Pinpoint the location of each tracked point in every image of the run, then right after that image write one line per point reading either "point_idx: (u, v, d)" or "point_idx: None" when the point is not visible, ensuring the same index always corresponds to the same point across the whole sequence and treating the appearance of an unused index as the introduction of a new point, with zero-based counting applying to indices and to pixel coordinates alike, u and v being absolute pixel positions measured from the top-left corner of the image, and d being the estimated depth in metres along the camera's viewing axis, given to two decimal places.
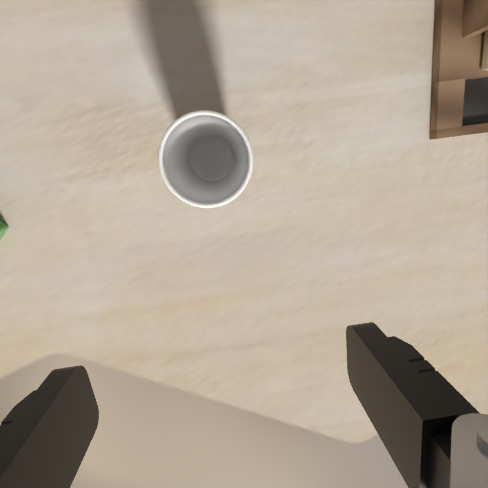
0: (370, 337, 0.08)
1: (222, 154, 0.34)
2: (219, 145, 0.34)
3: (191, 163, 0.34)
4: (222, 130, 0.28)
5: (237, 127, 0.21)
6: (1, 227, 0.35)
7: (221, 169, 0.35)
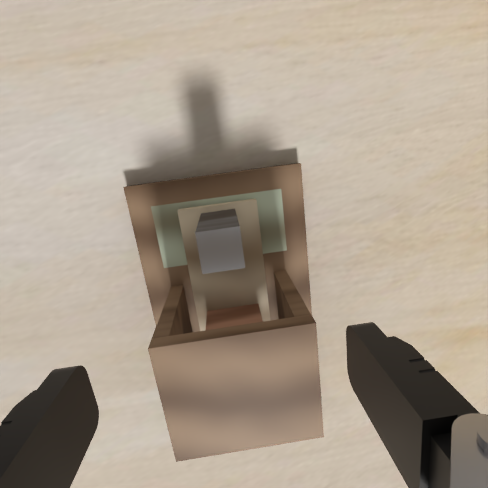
0: (370, 337, 0.08)
1: None
2: None
3: None
4: None
5: None
6: None
7: None
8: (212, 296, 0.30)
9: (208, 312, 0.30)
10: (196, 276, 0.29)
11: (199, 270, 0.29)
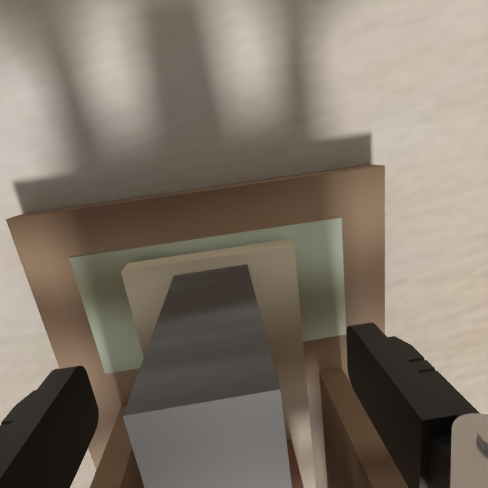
0: (370, 337, 0.08)
1: None
2: None
3: None
4: None
5: None
6: None
7: None
8: None
9: None
10: None
11: None
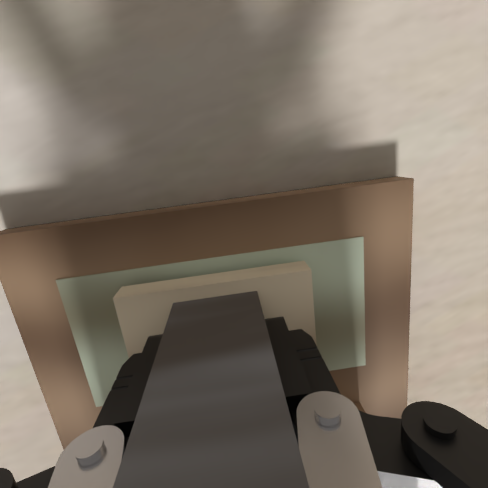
0: (274, 329, 0.09)
1: None
2: None
3: None
4: None
5: None
6: None
7: None
8: None
9: None
10: None
11: None
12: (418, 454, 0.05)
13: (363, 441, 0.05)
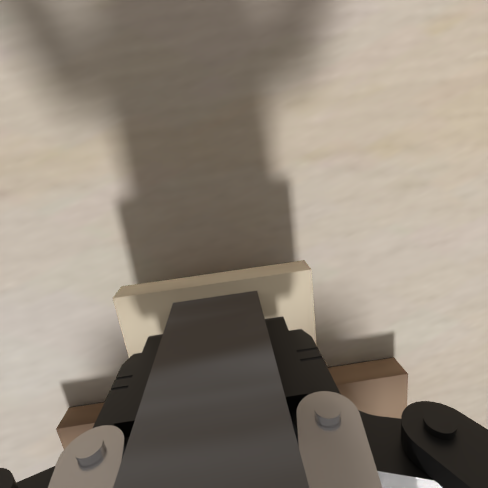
0: (273, 329, 0.09)
1: None
2: None
3: None
4: None
5: None
6: None
7: None
8: None
9: None
10: None
11: None
12: (418, 454, 0.05)
13: (363, 441, 0.05)
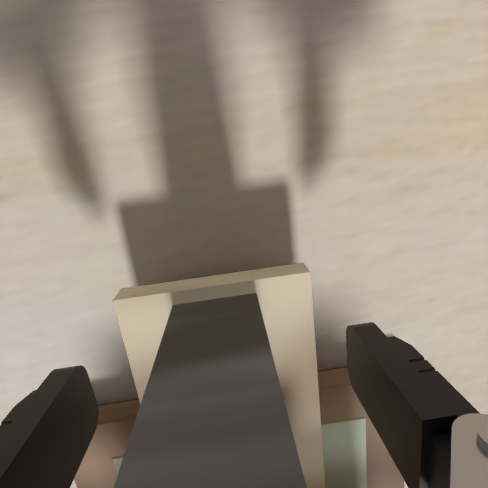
0: (370, 337, 0.08)
1: None
2: None
3: None
4: None
5: None
6: None
7: None
8: None
9: None
10: None
11: None
12: None
13: None
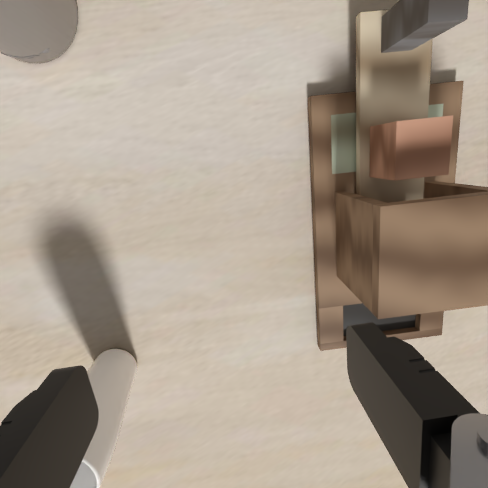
0: (370, 337, 0.08)
1: None
2: None
3: None
4: None
5: (82, 460, 0.25)
6: None
7: None
8: (377, 110, 0.31)
9: (372, 126, 0.31)
10: (365, 87, 0.30)
11: (369, 80, 0.30)
12: None
13: None
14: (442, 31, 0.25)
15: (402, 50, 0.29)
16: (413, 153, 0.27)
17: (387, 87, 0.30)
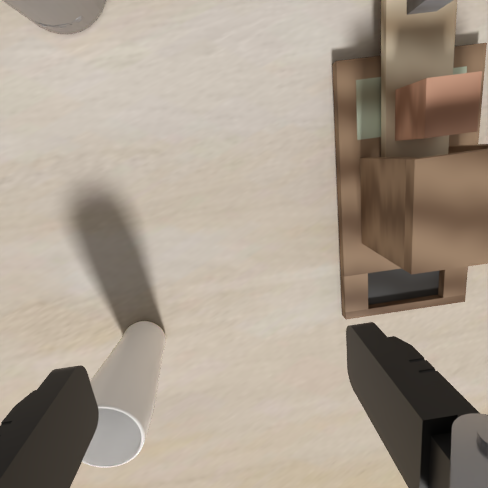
0: (370, 337, 0.08)
1: None
2: None
3: None
4: None
5: (128, 415, 0.25)
6: None
7: None
8: (402, 73, 0.31)
9: (398, 88, 0.31)
10: (391, 49, 0.31)
11: (395, 42, 0.31)
12: None
13: None
14: None
15: (427, 11, 0.30)
16: (442, 110, 0.28)
17: (412, 49, 0.31)
